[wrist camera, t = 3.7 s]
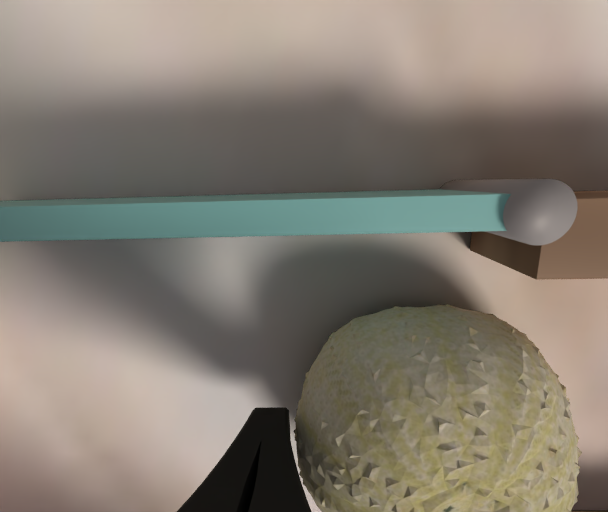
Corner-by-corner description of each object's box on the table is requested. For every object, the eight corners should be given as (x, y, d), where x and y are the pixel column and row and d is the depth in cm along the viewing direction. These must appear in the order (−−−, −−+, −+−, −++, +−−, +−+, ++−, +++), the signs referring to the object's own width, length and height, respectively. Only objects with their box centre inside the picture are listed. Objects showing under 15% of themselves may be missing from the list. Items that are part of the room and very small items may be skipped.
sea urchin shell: (420, 582, 13) (336, 776, 6) (323, 397, 17) (218, 399, 11) (631, 461, 11) (811, 555, 5) (461, 292, 15) (433, 222, 9)
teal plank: (478, 179, 10) (582, 177, 6) (474, 220, 11) (571, 244, 7) (1, 192, 11) (-181, 198, 7) (11, 231, 11) (-158, 258, 7)
